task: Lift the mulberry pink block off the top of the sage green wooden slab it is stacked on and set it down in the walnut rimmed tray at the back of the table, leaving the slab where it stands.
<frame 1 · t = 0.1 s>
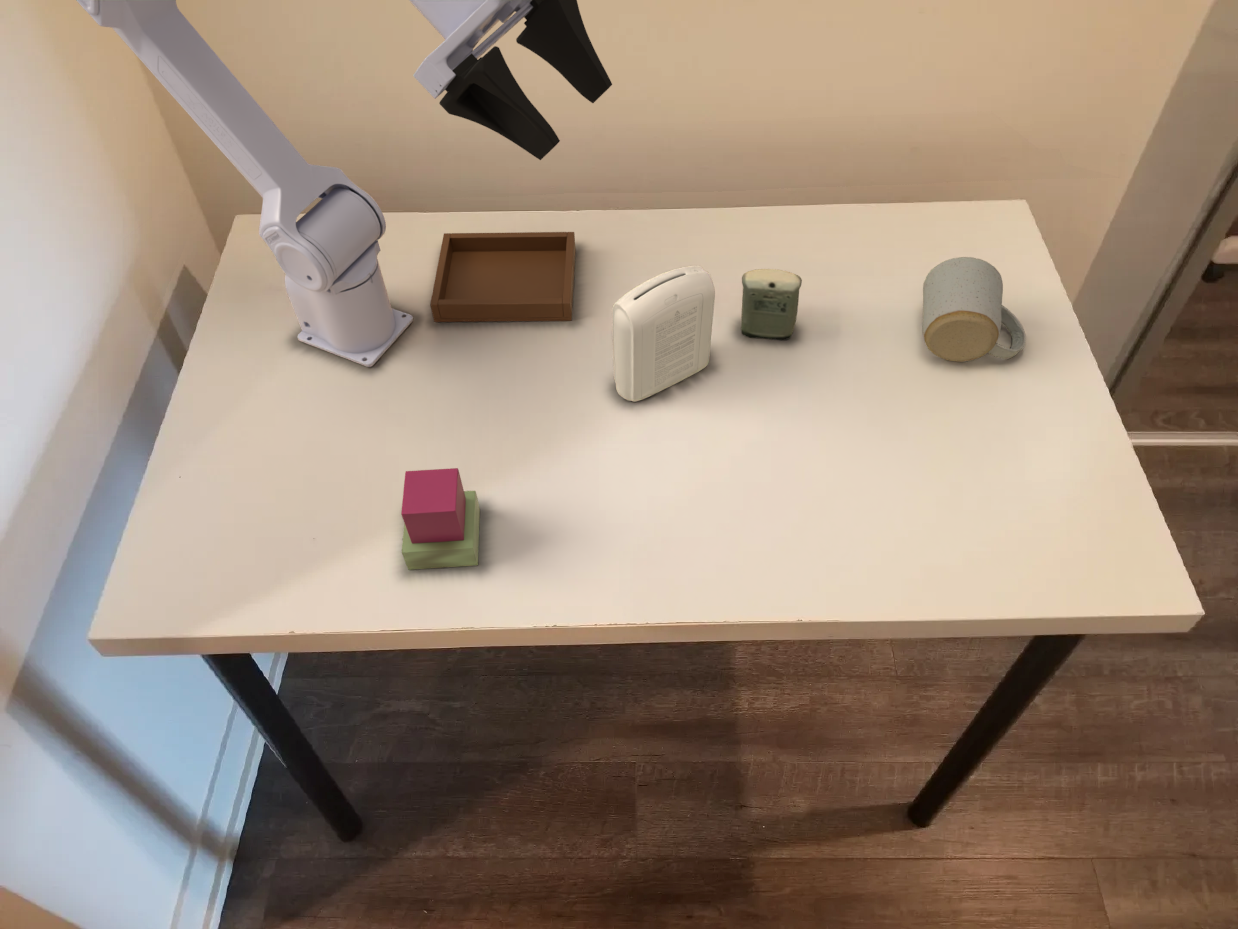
hand: (577, 121, 65), 32 cm above the table, tool tilted 50°, fingers open, 7 cm apart
base slab: (444, 538, 82), on the table, touching pink block
photo printer: (661, 376, 94), on the table
tray: (507, 284, 102), on the table
pink block: (439, 520, 80), point 3 cm above the table, touching base slab
grey-green labelled box: (763, 333, 97), on the table
ceramic mug: (964, 339, 96), on the table
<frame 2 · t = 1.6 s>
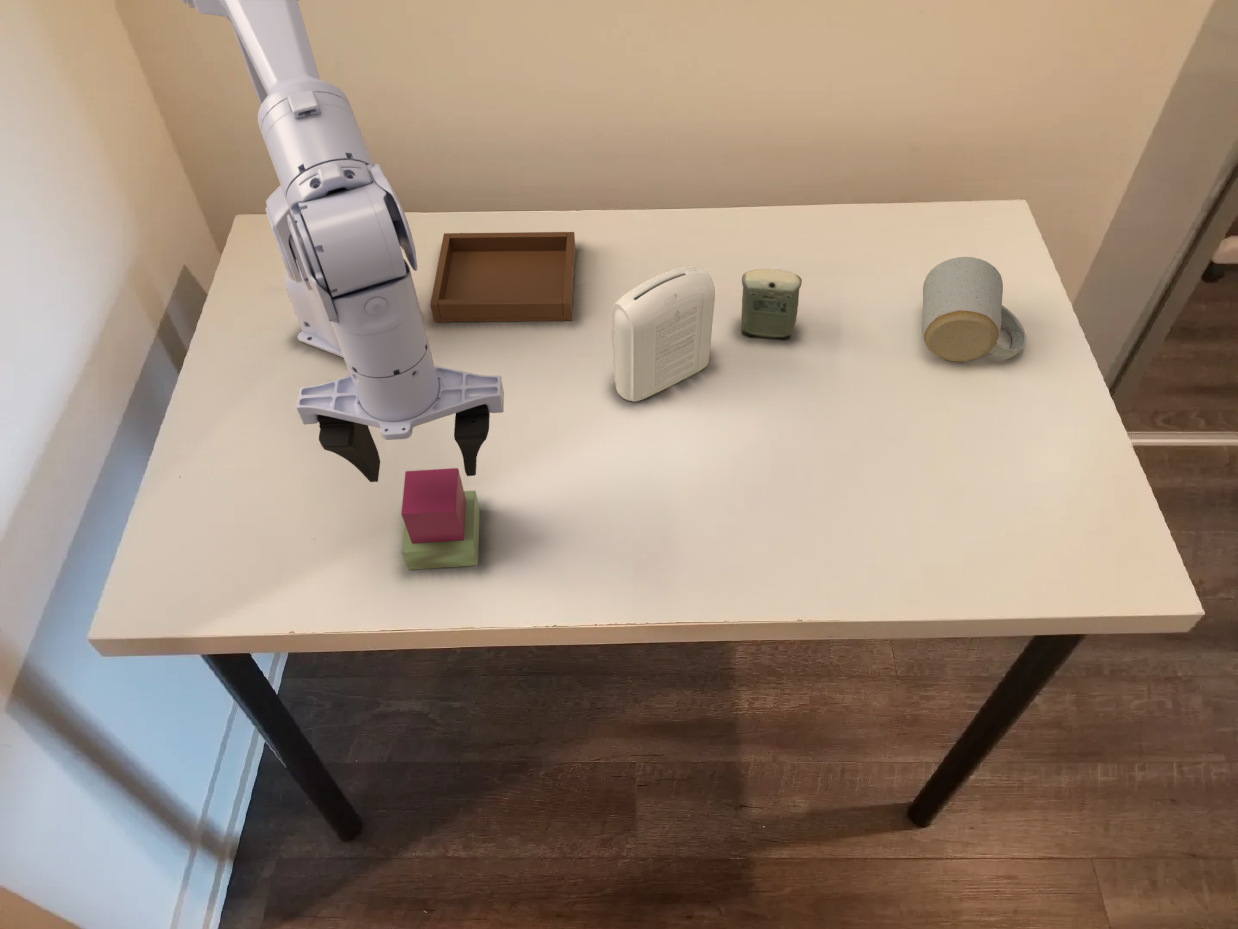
hand: (423, 468, 74), 10 cm above the table, tool pointing down, fingers open, 7 cm apart
nothing on the table moved.
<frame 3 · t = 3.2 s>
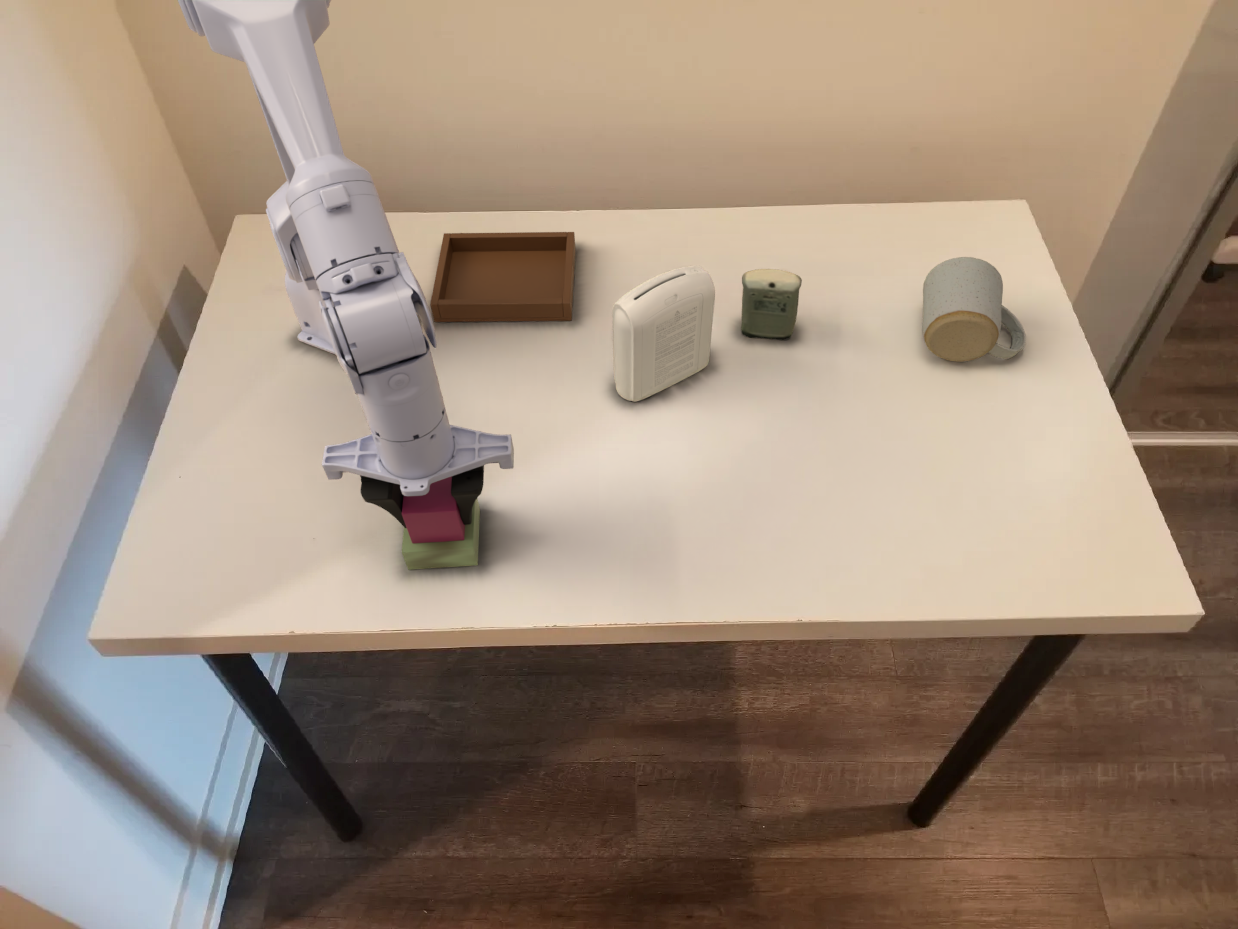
hand: (438, 516, 79), 3 cm above the table, tool pointing down, fingers closed on pink block, 4 cm apart
pink block: (439, 520, 80), point 3 cm above the table, touching base slab, gripper
everything else where it was.
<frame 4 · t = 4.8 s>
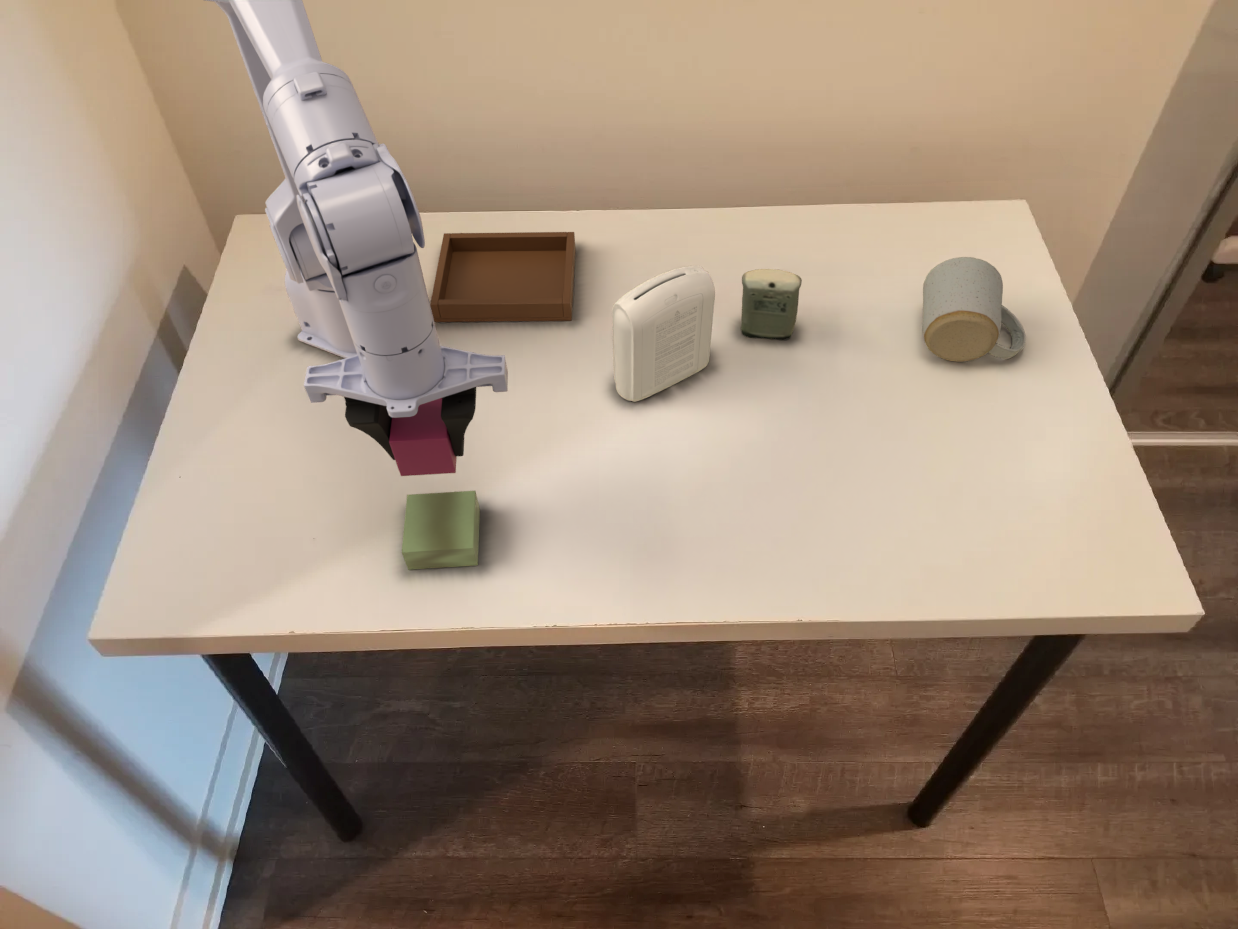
hand: (428, 448, 75), 10 cm above the table, tool pointing down, fingers closed on pink block, 4 cm apart
base slab: (444, 538, 82), on the table
pink block: (430, 453, 76), point 10 cm above the table, touching gripper
everything else where it was.
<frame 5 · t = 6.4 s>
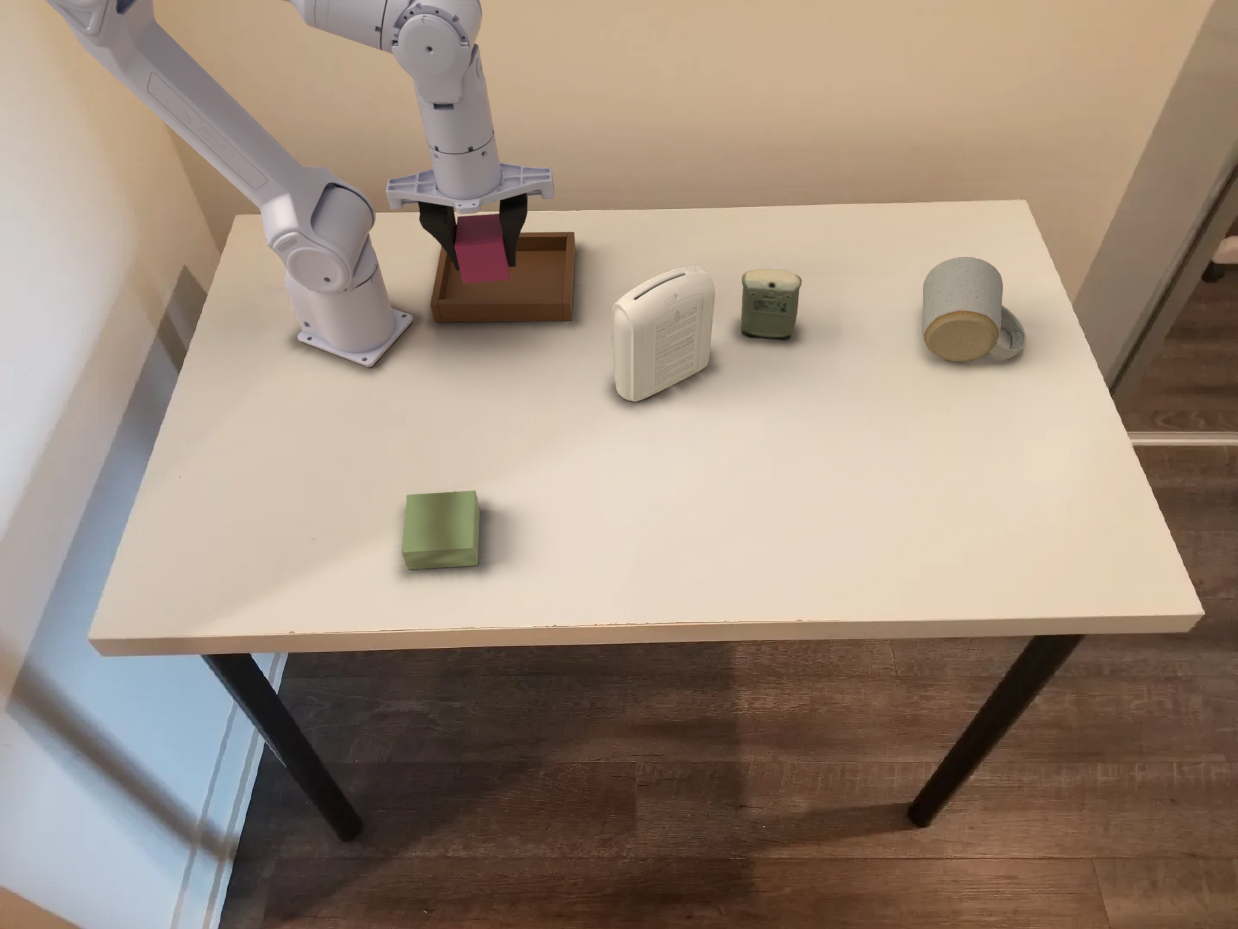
hand: (485, 261, 89), 10 cm above the table, tool pointing down, fingers closed on pink block, 4 cm apart
pink block: (487, 266, 89), point 10 cm above the table, touching gripper
everything else where it was.
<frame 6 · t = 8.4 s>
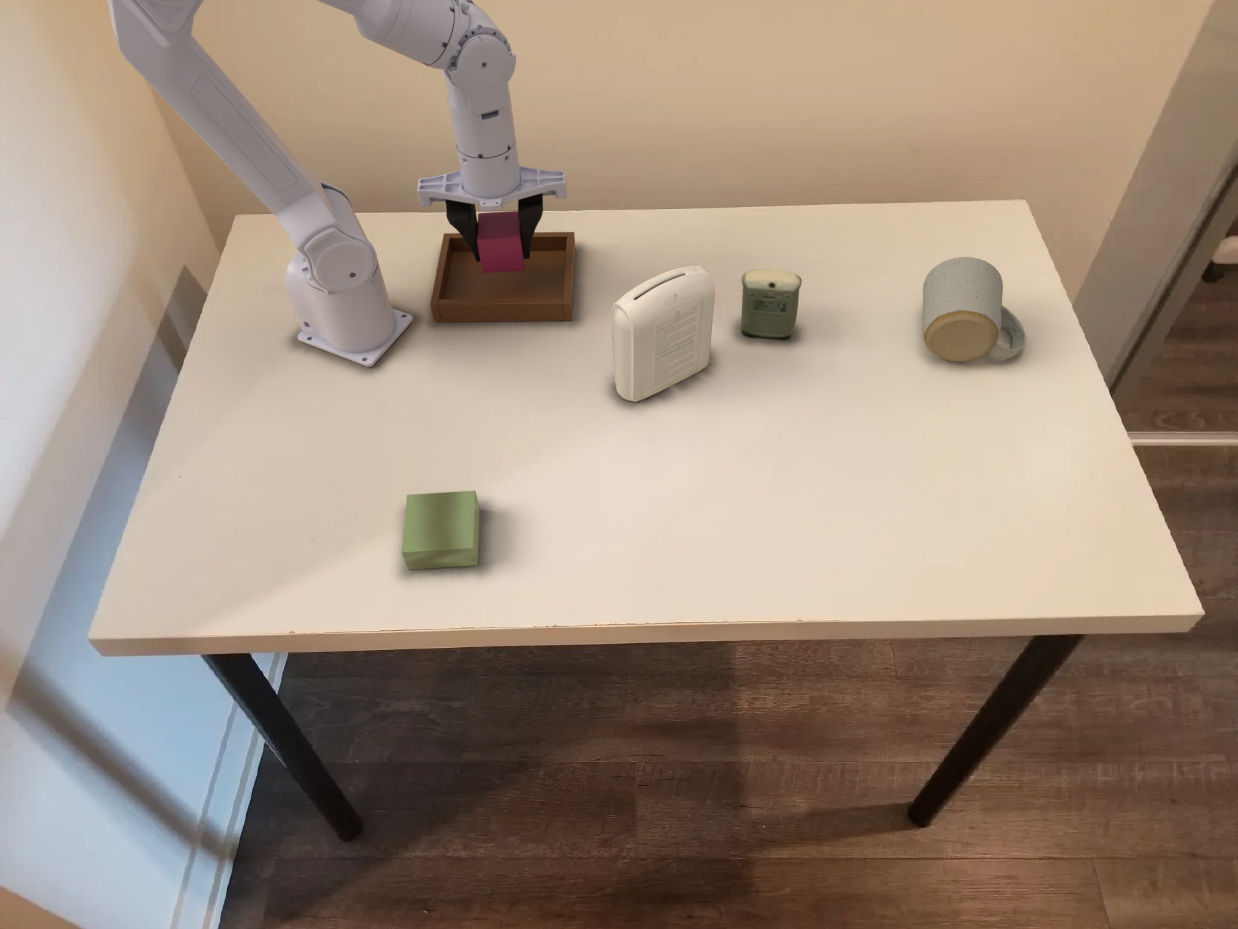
hand: (502, 254, 99), 4 cm above the table, tool pointing down, fingers closed on pink block, 4 cm apart
pink block: (503, 258, 99), point 4 cm above the table, touching gripper
everything else where it was.
when the fingers open (1 cm above the table, at t = 9.9 s): pink block stays where it is, resting on tray.
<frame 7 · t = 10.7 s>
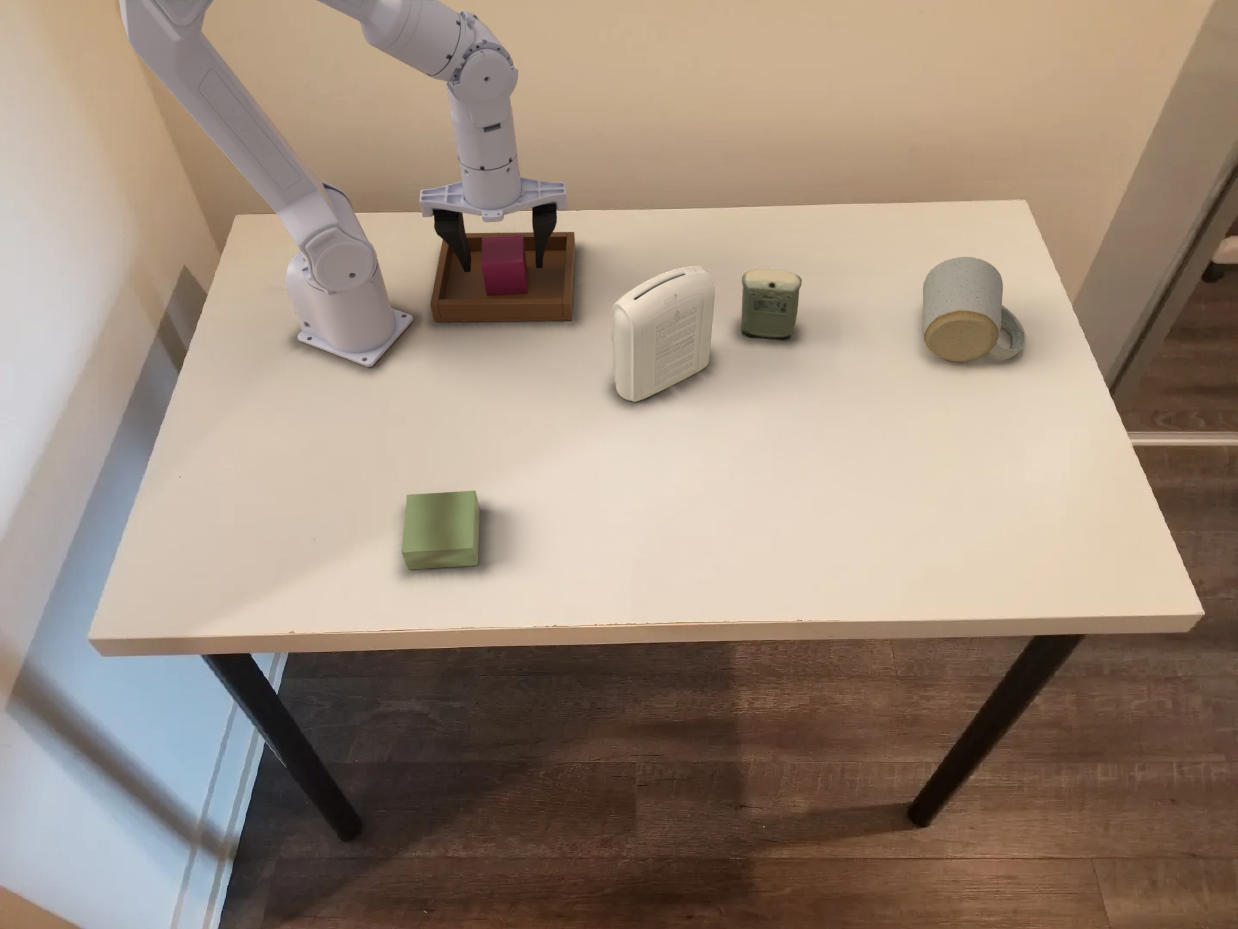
hand: (503, 263, 100), 3 cm above the table, tool pointing down, fingers open, 7 cm apart
pink block: (507, 280, 102), resting on tray
everything else where it was.
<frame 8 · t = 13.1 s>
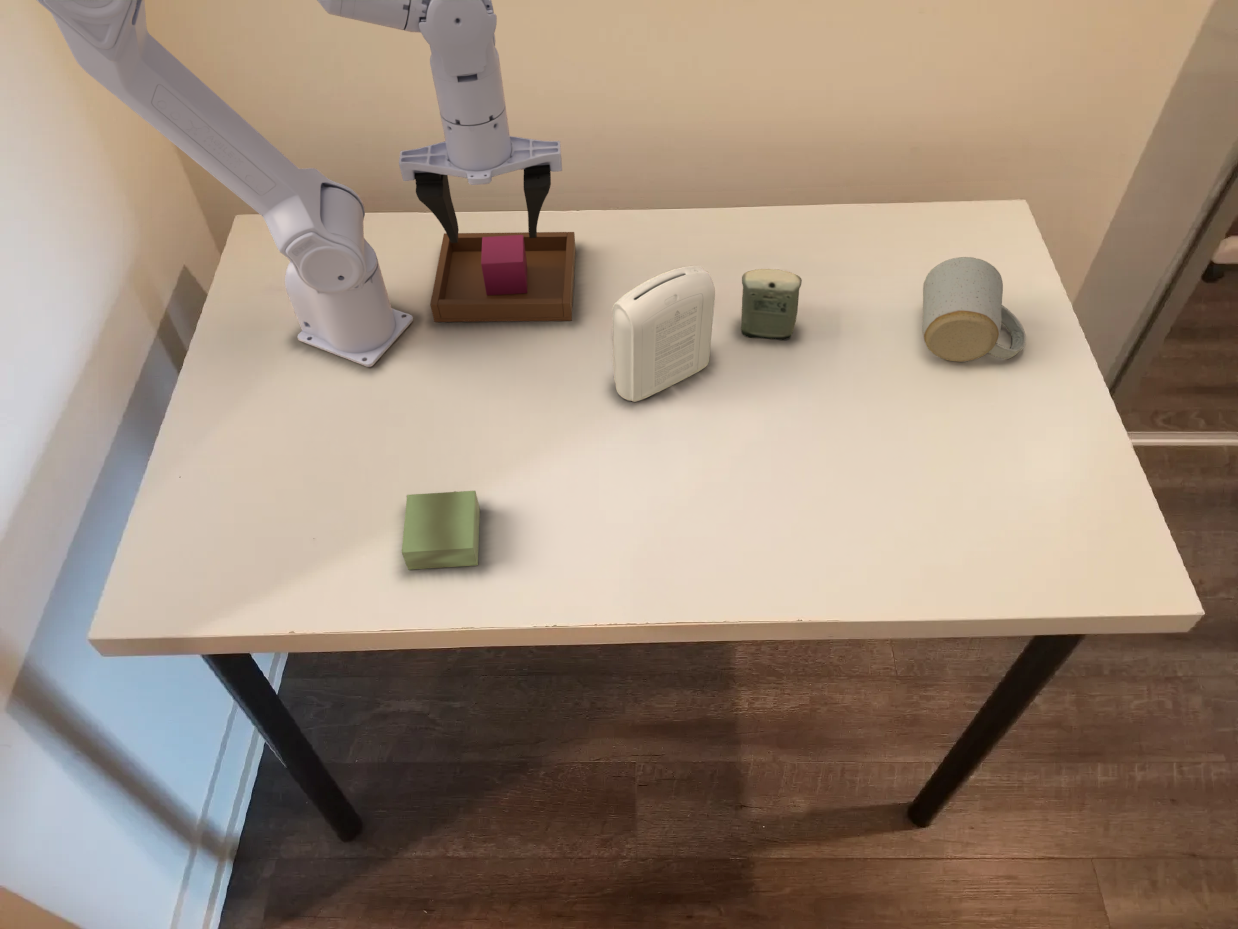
hand: (493, 233, 91), 10 cm above the table, tool pointing down, fingers open, 7 cm apart
nothing on the table moved.
at the end: pink block inside the target area in the tray (0.0 cm from its centre), point 0.5 cm above the tray's base; pink block touching tray; base slab moved 0.0 cm from its start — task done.
